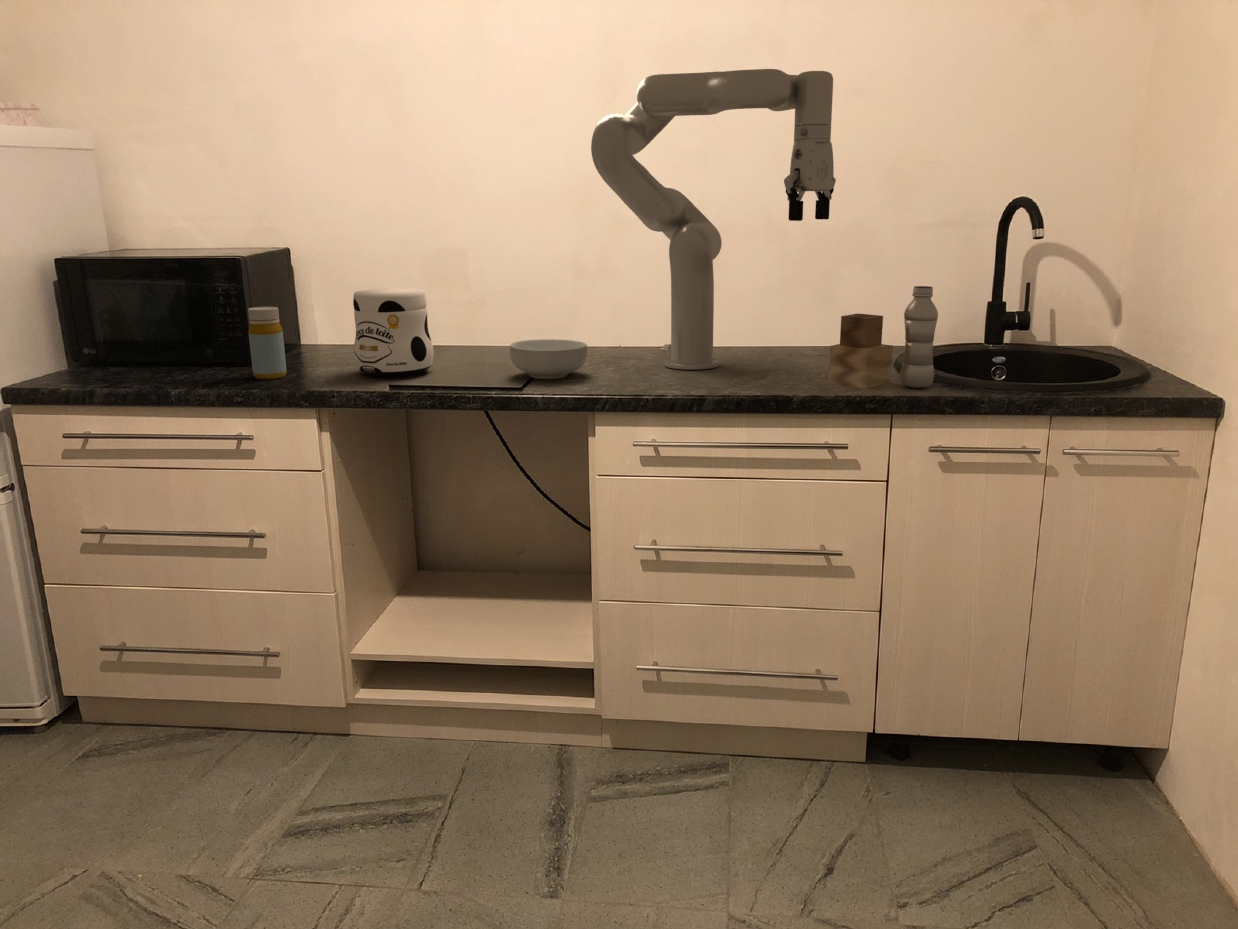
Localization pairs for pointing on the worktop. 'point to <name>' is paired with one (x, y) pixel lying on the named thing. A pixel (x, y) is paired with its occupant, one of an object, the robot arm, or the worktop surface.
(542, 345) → the cereal bowl
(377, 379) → the worktop surface
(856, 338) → the walnut cube
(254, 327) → the bottle
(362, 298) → the doce de leite jar
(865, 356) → the tower top
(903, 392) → the worktop surface
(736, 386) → the worktop surface
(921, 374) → the plastic bottle
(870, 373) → the tower base
